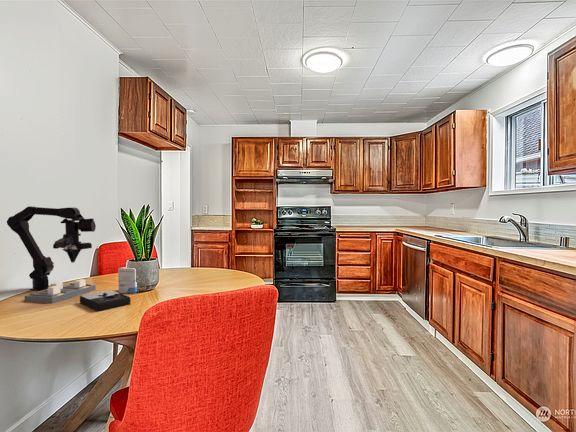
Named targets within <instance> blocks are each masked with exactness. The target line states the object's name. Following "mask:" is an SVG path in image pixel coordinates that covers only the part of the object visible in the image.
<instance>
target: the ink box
mask: <svg viewBox="0 0 576 432" xmlns="http://www.w3.org/2000/svg"><path fill="white" fill-rule="evenodd" d="M117 273H118V275H117V276H118V279H117V280H118V293H120V294H136V293H138V292H137V282H136V269H135V268H126V267H125V266H123V267H119V268H118V271H117Z"/></svg>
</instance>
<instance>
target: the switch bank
mask: <svg viewBox="0 0 576 432" xmlns="http://www.w3.org/2000/svg"><path fill="white" fill-rule="evenodd" d="M96 288H97V287H96V285H95V284H91V283H86V286H83V287H74V282H72V283H68V284H63V289H60V291H61V293H58V294H54V295H49V294H48V289H44V290H40V291H37V292H34V293H29V294H27V295H24V296H23V297H24V303H25V302H26V303H42V304H56V303H58V302H61V301H65V300H69V299H72V298H75V297H78V296H82V295H86V294H89V293H90V292H94V291H96V290H97V289H96Z"/></svg>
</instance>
